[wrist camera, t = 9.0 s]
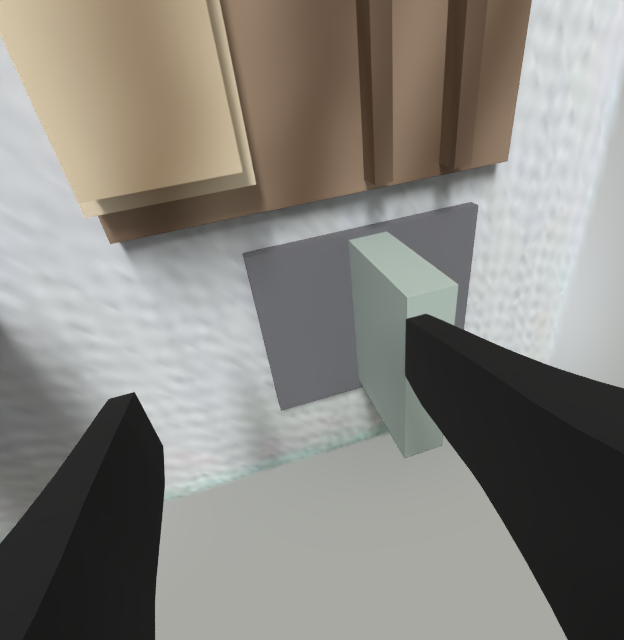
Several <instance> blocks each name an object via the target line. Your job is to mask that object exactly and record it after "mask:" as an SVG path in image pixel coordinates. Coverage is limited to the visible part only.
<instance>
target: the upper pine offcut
mask: <svg viewBox="0 0 624 640" xmlns="http://www.w3.org/2000/svg"><path fill="white" fill-rule="evenodd" d="M0 32H1V35H2V37H3V39H4V41H5V43H6V45H7V48H8V50H9V52H10V54H11V56H12V58H13V60H14V63H15V65H16V67H17V69H18V71H19V73H20V76H21V78H22V80H23V82H24V84H25V86H26V89H27V91H28V93H29V95H30V97H31V99H32V102H33V104H34V106H35V108H36V110H37V112H38V115H39V117H40V119H41V121H42V123H43V125H44V128H45V130H46V132H47V134H48V136H49V138H50V141H51V143H52V145H53V147H54V149H55V151H56V154H57V156H58V158H59V160H60V162H61V164H62V167H63V169H64V171H65V173H66V175H67V177H68V179H69V182H70V184H71V186H72V188H73V190H74V192H75V195H76V197H77V199H78V201H79V203H84V202H89V201H94V200H99V199H105V198H110V197H115V196H121V195H126V194H131V193H136V192H142V191H147V190H152V189H157V188H163V187H168V186H173V185H178V184H184V183H189V182H194V181H199V180H205V179H210V178H215V177H220V176H226V175H231V174H236V173H242V172H243V171H242V166H241V162H240V157H239V152H238V148H237V143H236V138H235V134H234V129H233V124H232V120H231V115H230V110H229V106H228V101H227V96H226V92H225V87H224V83H223V78H222V73H221V69H220V64H219V59H218V55H217V50H216V45H215V41H214V36H213V31H212V27H211V22H210V17H209V13H208V8H207V3H206V0H0Z"/></svg>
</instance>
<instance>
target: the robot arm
mask: <svg viewBox="0 0 624 640" xmlns="http://www.w3.org/2000/svg"><path fill="white" fill-rule="evenodd" d="M405 376H406V378H407V380H408V382H409V384H410V386H411V387H412V389H413V391H414V393H415V395H416V396H417V398H418V400H419V401H420V403H421V405H422V406H423V408H424V409H425V410H426V412H427V413H428V415H429V416H430V417H431V419H432V420H433V421H434V423H435V424H436V425H437V427H438V428H439V429H440V431H441V432H442V433H443V435H444V436H445V437H446V439H447V440H448V441H449V443H450V444H451V445H452V447H453V448H454V449H455V451H456V452H457V453H458V455H459V456H460V457H461V459H462V460H463V461H464V462H465V464H466V465H467V467H468V468H469V469H470V471H471V472H472V473H473V475H474V476H475V478H476V479H477V480H478V482H479V484H480V485H481V486H482V488H483V490H484V491H485V493H486V495H487V496H488V498H489V499H490V501H491V503H492V504H493V506H494V508H495V509H496V511H497V513H498V514H499V516H500V517H501V519H502V521H503V522H504V524H505V526H506V528H507V529H508V531H509V533H510V535H511V536H512V538H513V540H514V541H515V543H516V545H517V547H518V548H519V550H520V552H521V553H522V555H523V557H524V559H525V560H526V562H527V564H528V566H529V568H530V570H531V571H532V573H533V575H534V577H535V579H536V580H537V582H538V584H539V586H540V588H541V590H542V591H543V593H544V595H545V597H546V599H547V601H548V602H549V604H550V606H551V608H552V610H553V612H554V614H555V616H556V618H557V620H558V622H559V624H560V626H561V627H562V629H563V631H564V633H565V635H566V637H567V639H568V640H624V388H620V387H616V386H613V385H609V384H606V383H602V382H599V381H595V380H592V379H589V378H586V377H583V376H579V375H576V374H573V373H570V372H567V371H564V370H561V369H558V368H555V367H552V366H549V365H546V364H544V363H541V362H539V361H536V360H533V359H531V358H528V357H526V356H523V355H520V354H518V353H515V352H513V351H511V350H508V349H506V348H503V347H501V346H499V345H496V344H494V343H492V342H489V341H487V340H485V339H483V338H480V337H478V336H476V335H474V334H472V333H469V332H467V331H465V330H463V329H461V328H458V327H456V326H454V325H452V324H450V323H447V322H445V321H443V320H441V319H438V318H436V317H434V316H431V315H429V314H422V315H419V316H415V317H411V318H408V319H406V332H405ZM164 488H165V476H164V452H163V445H162V443H161V441H160V439H159V437H158V436H157V434H156V432H155V430H154V428H153V426H152V424H151V422H150V420H149V419H148V417H147V415H146V413H145V411H144V409H143V407H142V405H141V403H140V401H139V400H138V398H137V396H136V394H135V392H133V393H130V394H126V395H122V396H119V397H115V398H111V399H109V400H108V401H107V402H106V404H105V405H104V406H103V408H102V409H101V410H100V412H99V413H98V415H97V416H96V418H95V419H94V421H93V422H92V423H91V425H90V426H89V428H88V429H87V431H86V432H85V434H84V435H83V436H82V438H81V439H80V441H79V442H78V444H77V445H76V446H75V448H74V449H73V451H72V452H71V453H70V455H69V456H68V458H67V459H66V460H65V462H64V463H63V465H62V466H61V467H60V469H59V470H58V472H57V473H56V474H55V476H54V477H53V478H52V480H51V481H50V482H49V483H48V485H47V486H46V487H45V489H44V490H43V491H42V492H41V494H40V495H39V496H38V498H37V499H36V500H35V501H34V503H33V504H32V505H31V507H30V508H29V509H28V510H27V512H26V513H25V514H24V515H23V517H22V518H21V519H20V521H19V522H18V523H17V524H16V526H15V527H14V528H13V529H12V530H11V532H10V533H9V534H8V535H7V536H6V538H5V539H4V540H3V541H2V542H1V543H0V640H155V591H156V576H157V566H158V555H159V544H160V534H161V523H162V511H163V500H164Z"/></svg>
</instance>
